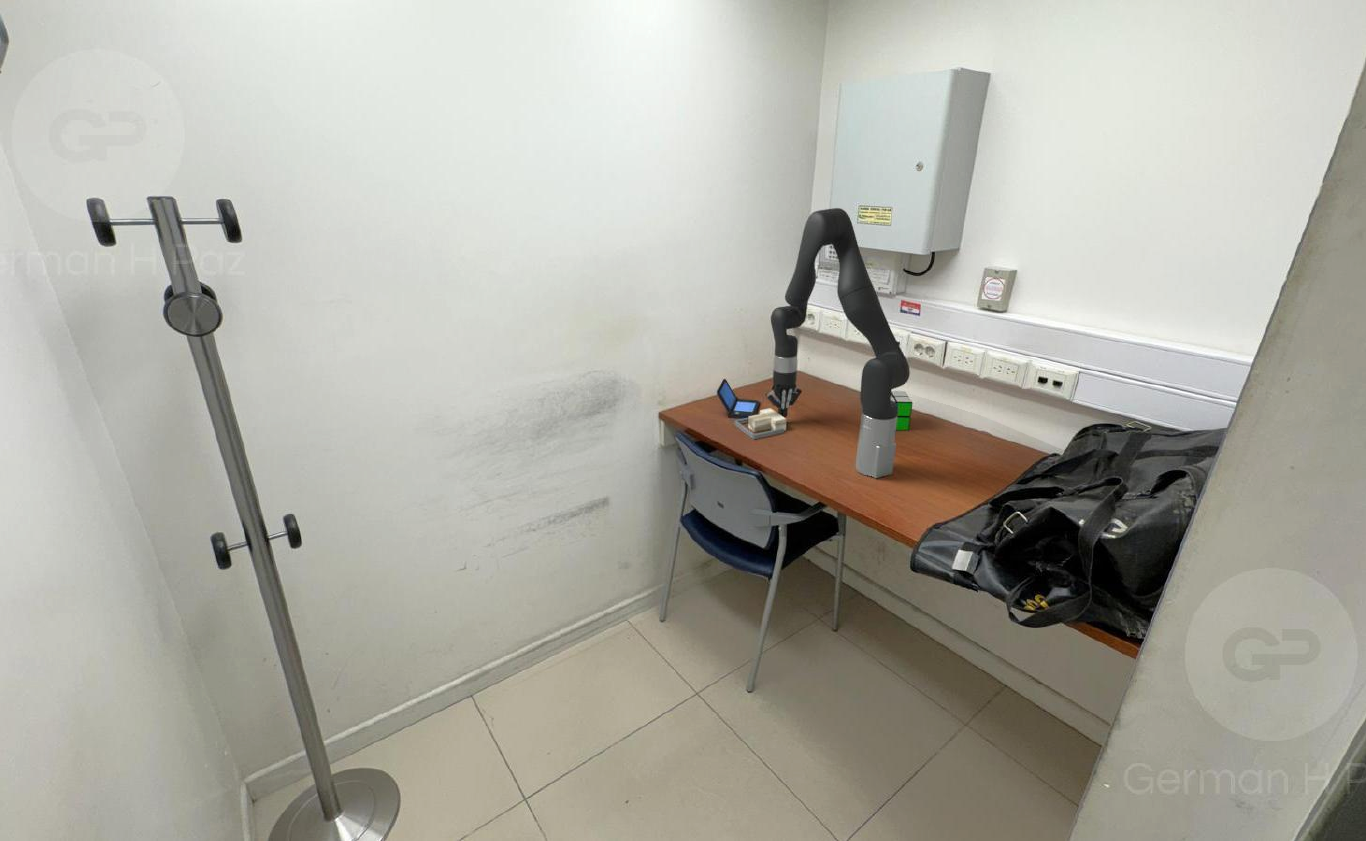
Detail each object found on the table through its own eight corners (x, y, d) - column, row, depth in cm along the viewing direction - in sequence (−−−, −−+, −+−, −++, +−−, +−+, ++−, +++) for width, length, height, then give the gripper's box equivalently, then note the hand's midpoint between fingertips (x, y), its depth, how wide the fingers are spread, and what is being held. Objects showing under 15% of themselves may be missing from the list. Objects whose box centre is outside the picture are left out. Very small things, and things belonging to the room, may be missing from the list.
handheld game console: (754, 420, 197) (755, 395, 194) (715, 417, 200) (715, 392, 197) (760, 403, 211) (761, 379, 208) (723, 400, 214) (724, 377, 211)
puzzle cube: (901, 418, 196) (905, 390, 192) (908, 431, 187) (913, 402, 183) (870, 418, 197) (874, 390, 193) (876, 430, 188) (880, 401, 184)
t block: (785, 430, 189) (786, 418, 188) (759, 435, 186) (759, 424, 184) (769, 419, 198) (770, 408, 196) (743, 424, 194) (744, 413, 192)
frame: (783, 433, 187) (783, 428, 187) (753, 439, 183) (753, 435, 183) (762, 418, 198) (762, 414, 197) (733, 424, 194) (734, 420, 193)
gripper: (773, 374, 181) (771, 425, 188) (809, 368, 185) (805, 418, 193) (761, 367, 187) (759, 417, 194) (796, 361, 192) (793, 410, 199)
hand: (782, 417), depth 193 cm, fingers closed
